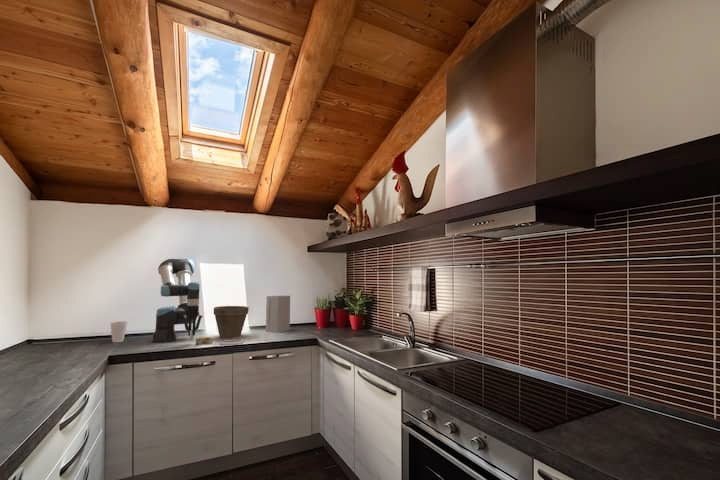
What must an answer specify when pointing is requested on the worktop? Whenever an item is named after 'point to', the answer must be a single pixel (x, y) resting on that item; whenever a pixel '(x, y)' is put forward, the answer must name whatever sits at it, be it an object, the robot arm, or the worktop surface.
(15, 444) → the worktop surface
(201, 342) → the t block
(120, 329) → the foam cup
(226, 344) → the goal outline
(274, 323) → the grey faceted cylinder
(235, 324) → the plant pot
